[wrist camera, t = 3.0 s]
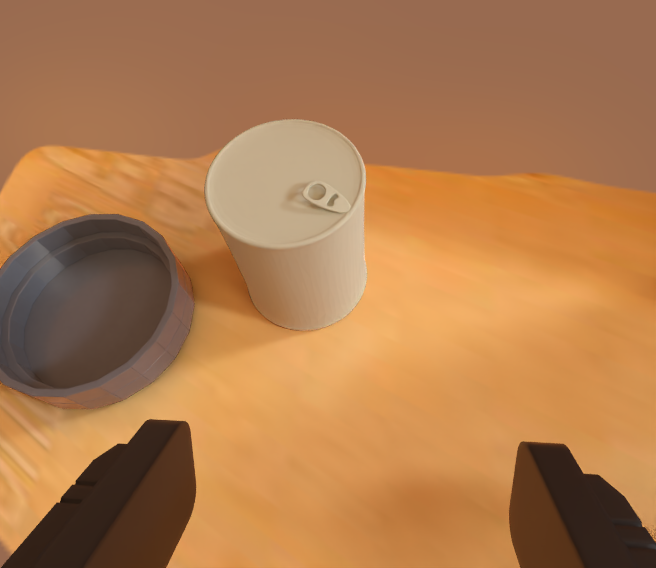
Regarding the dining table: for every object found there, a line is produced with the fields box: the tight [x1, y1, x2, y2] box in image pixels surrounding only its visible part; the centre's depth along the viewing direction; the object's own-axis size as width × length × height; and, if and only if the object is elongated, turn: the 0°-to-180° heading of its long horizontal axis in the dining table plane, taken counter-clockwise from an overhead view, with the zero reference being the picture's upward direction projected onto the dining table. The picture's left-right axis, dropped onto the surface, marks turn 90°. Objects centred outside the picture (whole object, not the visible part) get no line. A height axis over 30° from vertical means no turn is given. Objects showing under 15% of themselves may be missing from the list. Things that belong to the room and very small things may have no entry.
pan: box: [0, 214, 194, 409], centre depth 35 cm, size 14×14×4 cm
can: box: [204, 119, 367, 331], centre depth 32 cm, size 9×9×12 cm
